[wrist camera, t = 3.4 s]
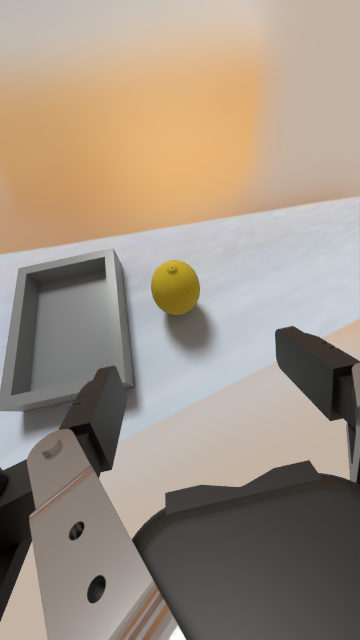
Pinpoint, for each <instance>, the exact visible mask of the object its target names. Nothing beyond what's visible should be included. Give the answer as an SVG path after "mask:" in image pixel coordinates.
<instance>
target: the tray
mask: <svg viewBox="0 0 360 640" xmlns="http://www.w3.org/2000/svg"><path fill="white" fill-rule="evenodd" d="M113 365H114V366H116V368H117V370H118V373H119V375H120V378H121V381H122V384H123V387H124V389H126V388H130V387H135V383H134V374H133V365H132V356H131V347H130V338H129V329H128V320H127V310H126V301H125V292H124V283H123V274H122V265H121V262H120V261H119V259H118V257H117V255H116V253H115V251H114V249H113V248H111V249H106V250H101V251H97V252H92V253H88V254H83V255H78V256H74V257H69V258H65V259H60V260H56V261H51V262H46V263H42V264H37V265H33V266H28V267H23V268H19V269H18V276H17V282H16V289H15V296H14V302H13V309H12V316H11V322H10V329H9V336H8V343H7V349H6V356H5V363H4V369H3V376H2V383H1V389H0V411H22V412H23V411H28V410H32V409H37V408H41V407H45V406H50V405H54V404H59V403H63V402H68V401H72V400H75V399H76V397H77V395H78V394H79V392H80V390H81V389H82V388H83V387H84V386H85V385H86V384H87V383H88V382H89V381H92V380H93V378H94V376H95V374H96V372H97V370H98V369H100V368H104V367H109V366H113Z"/></svg>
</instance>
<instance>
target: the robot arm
mask: <svg viewBox="0 0 360 640" xmlns="http://www.w3.org/2000/svg"><path fill="white" fill-rule="evenodd" d="M275 341H276V359H277V363H278V365H279V367H280V369H281V370H282V371H283V372H284V373H285V374H286V375H287V376H288V377H289V378H290V379H291V380H292V382H294V384H295V385H296V386H297V387H298V388H299V389H300V390H301V391H302V392H303V393H304V394H305V395H306V396H307V397H308V398H309V399H310V400H311V401H312V402H313V404H314V405H315V406H316V407H317V408H318V409H319V410H320V411H321V412H322V413H323V414H324V415H325V416H326V417H327V418H328V419H329V420H330V421H333V420H338V419H342V418H343V419H344V420H345V421H347V426H346V431H347V443H348V457H349V469H350V480H347V479H345V478H341V477H338V476H334V475H328V474H322V473H318V472H317V471H316V469H315V468H314V467H313V465H312V464H311V462H310V461H309V460H308V461H304V462H299V463H296V464H290V465H286V466H282V467H277V468H274V469H272V470H270V471H269V472H267V473H265V474H263V475H262V476H260V477H258V478H257V479H255V480H253V481H251V482H249V483H248V484H246V485H244V486H242V487H226V486H210V485H199V486H194V487H190V488H185V489H181V490H176V491H173V492H168V493H166V494H165V497H166V499H165V501H166V507H165V508H164V509H162V510H160V511H159V512H158V513H156V514H155V515H154V516H152V517H151V518H150V519H149V520H148V521H147V522H146V523H145V524H144V525H143V526H142V527H141V528H140V530H139V531H138V532H137V533H136V534H135V536H134V537H133V539H132V540H131V538H130V536H129V534H128V532H127V530H126V529H125V527H124V525H123V523H122V521H121V519H120V518H119V516H118V514H117V512H116V510H115V508H114V506H113V505H112V503H111V501H110V499H109V497H108V496H107V493H106V492H105V490H104V488H103V486H102V484H101V482H100V481H99V476H100V473H101V472H104V471H108V470H112V466H113V462H114V457H115V452H116V448H117V444H118V439H119V435H120V430H121V425H122V421H123V416H124V412H125V407H126V393H125V389H124V387H123V384H122V381H121V378H120V375H119V373H118V370H117V368H116V366H114V365H113V366H109V367H104V368H100V369H98V370H97V372H96V374H95V376H94V378H93V380H92V381H89V382H88V383H87V384H86V385H85V386H84V387H83V388H82V389H81V390H80V392H79V394H78V395H77V397H76V399H75V401H74V403H73V404H72V405H73V406H71V408H70V410H69V412H68V414H67V415H66V417H65V419H64V421H63V423H62V424H61V426H60V428H59V430H58V431H55V432H53V433H51V434H49V435H47V436H46V437H45V438H43V439H42V440H41V441H40V442H38V443H37V444H36V445H35V447H34V448H33V449H32V450H31V452H30V454H29V456H28V458H27V459H26V460H24V461H22V462H20V463H18V464H16V465H14V466H12V467H9V468H7V469H5V470H2V469H1V468H0V621H1V618H2V616H3V613H4V611H5V608H6V606H7V603H8V600H9V598H10V595H11V593H12V590H13V588H14V585H15V583H16V580H17V578H18V575H19V572H20V570H21V567H22V565H23V562H24V560H25V557H26V555H27V552H28V550H29V547H30V545H31V542H32V541H33V548H34V555H35V561H36V567H37V574H38V580H39V587H40V593H41V599H42V606H43V612H44V618H45V625H46V631H47V638H48V640H360V361H358V360H357V359H355V358H353V357H352V356H350V355H348V354H347V353H345V352H343V351H342V350H340V349H338V348H335V346H333V345H331V344H330V343H327V342H326V341H325V340H323V339H321V338H320V337H318V336H314V335H311V334H308V333H306V334H305V333H304V332H302V331H300V330H299V329H297V328H296V327H294V326H290V327H286V328H281V329H277V330H276V332H275Z"/></svg>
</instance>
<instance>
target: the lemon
mask: <svg viewBox="0 0 360 640" xmlns="http://www.w3.org/2000/svg"><path fill="white" fill-rule="evenodd" d="M151 290H152V295H153V298H154V300H155V302H156V304H157V305H158V307H159V308H161V309H162V310H163V311H164V312H166V313H168V314H172V315H181V314H185V313H187V312H189V311H190V310H191V309H192V308H193V307H194V306H195V305H196V303H197V301H198V298H199V294H200V285H199V280H198V277H197V275H196V273H195V271H194V270H193V269H192V268H191V267H190V266H189V265H188V264H186V263H185V262H182V261H177V260H173V261H168V262H165V263H163V264H161V265H160V266H159V267H158V268H157V270H156V271H155V272H154V275H153V277H152V284H151Z"/></svg>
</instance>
